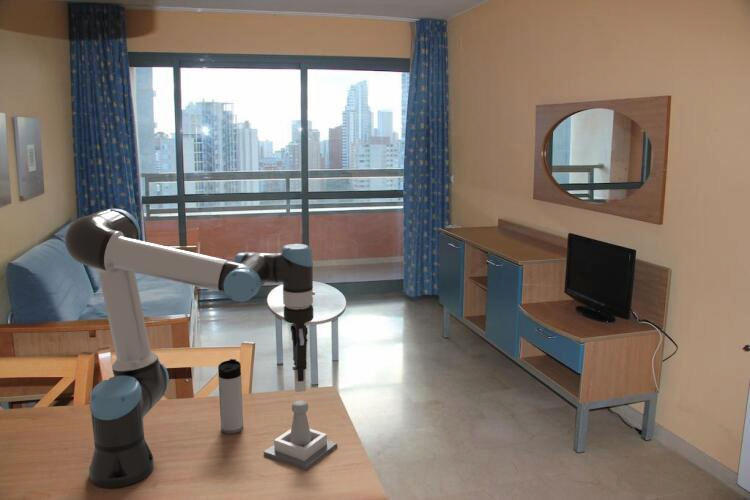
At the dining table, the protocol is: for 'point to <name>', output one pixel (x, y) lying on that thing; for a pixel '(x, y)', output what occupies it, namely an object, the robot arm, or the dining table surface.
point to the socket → (301, 450)
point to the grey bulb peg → (300, 424)
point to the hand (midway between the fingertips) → (300, 390)
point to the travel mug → (230, 396)
